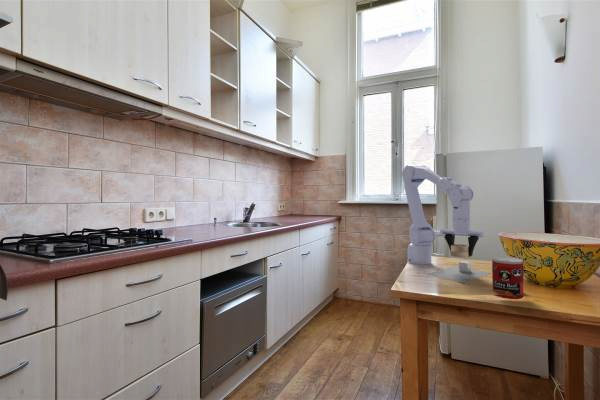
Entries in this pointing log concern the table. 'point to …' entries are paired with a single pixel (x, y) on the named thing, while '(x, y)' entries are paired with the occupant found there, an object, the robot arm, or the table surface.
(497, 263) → the canned food
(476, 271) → the board
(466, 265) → the pale grey block
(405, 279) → the table surface
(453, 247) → the collar
